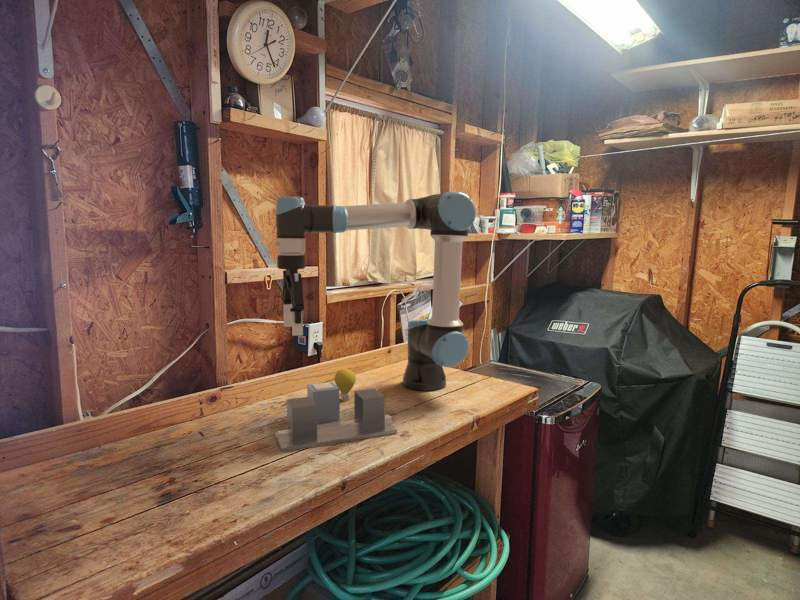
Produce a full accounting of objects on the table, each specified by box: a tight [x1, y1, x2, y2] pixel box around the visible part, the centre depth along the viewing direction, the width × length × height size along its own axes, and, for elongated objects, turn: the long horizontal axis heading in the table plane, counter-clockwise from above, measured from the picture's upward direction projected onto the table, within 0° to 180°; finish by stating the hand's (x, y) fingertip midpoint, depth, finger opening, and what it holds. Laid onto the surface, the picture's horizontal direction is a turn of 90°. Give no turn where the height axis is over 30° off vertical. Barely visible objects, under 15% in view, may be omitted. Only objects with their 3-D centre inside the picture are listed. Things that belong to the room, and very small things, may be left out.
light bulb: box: [334, 368, 357, 402], centre depth 156 cm, size 7×7×10 cm
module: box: [306, 381, 341, 424], centre depth 141 cm, size 8×7×9 cm
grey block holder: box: [274, 388, 398, 453], centre depth 129 cm, size 30×10×10 cm, turn 113°
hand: (293, 330), depth 139 cm, fingers open, 13 cm apart
